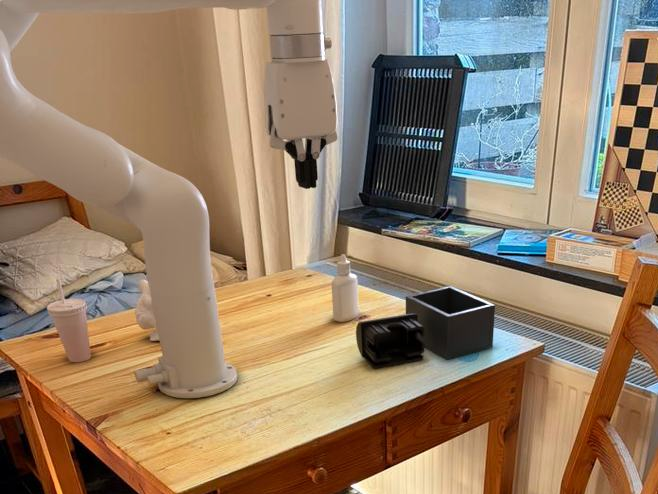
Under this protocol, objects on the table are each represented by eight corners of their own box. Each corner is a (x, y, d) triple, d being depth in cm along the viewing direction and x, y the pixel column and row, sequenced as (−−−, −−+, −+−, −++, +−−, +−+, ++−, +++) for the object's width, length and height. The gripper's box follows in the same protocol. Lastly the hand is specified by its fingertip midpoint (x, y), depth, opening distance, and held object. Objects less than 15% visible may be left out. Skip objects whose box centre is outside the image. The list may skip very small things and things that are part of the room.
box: (446, 360, 125) (448, 316, 121) (405, 337, 134) (405, 296, 130) (492, 347, 129) (495, 304, 124) (449, 326, 138) (450, 285, 134)
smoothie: (81, 348, 135) (62, 271, 128) (106, 354, 132) (88, 276, 125) (53, 361, 131) (31, 282, 123) (78, 368, 128) (57, 287, 120)
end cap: (410, 345, 131) (410, 308, 127) (427, 360, 125) (427, 321, 121) (356, 355, 128) (354, 317, 124) (370, 370, 122) (369, 331, 119)
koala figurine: (188, 339, 137) (177, 274, 131) (154, 349, 134) (141, 282, 127) (167, 327, 143) (156, 264, 137) (134, 336, 140) (121, 272, 133)
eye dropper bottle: (364, 318, 143) (362, 255, 136) (336, 323, 141) (333, 259, 135) (355, 311, 146) (353, 249, 140) (328, 316, 145) (324, 254, 138)
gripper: (331, 46, 111) (338, 177, 121) (237, 52, 105) (253, 189, 115) (356, 46, 106) (361, 184, 116) (259, 53, 100) (273, 198, 110)
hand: (307, 186), depth 115 cm, fingers closed
